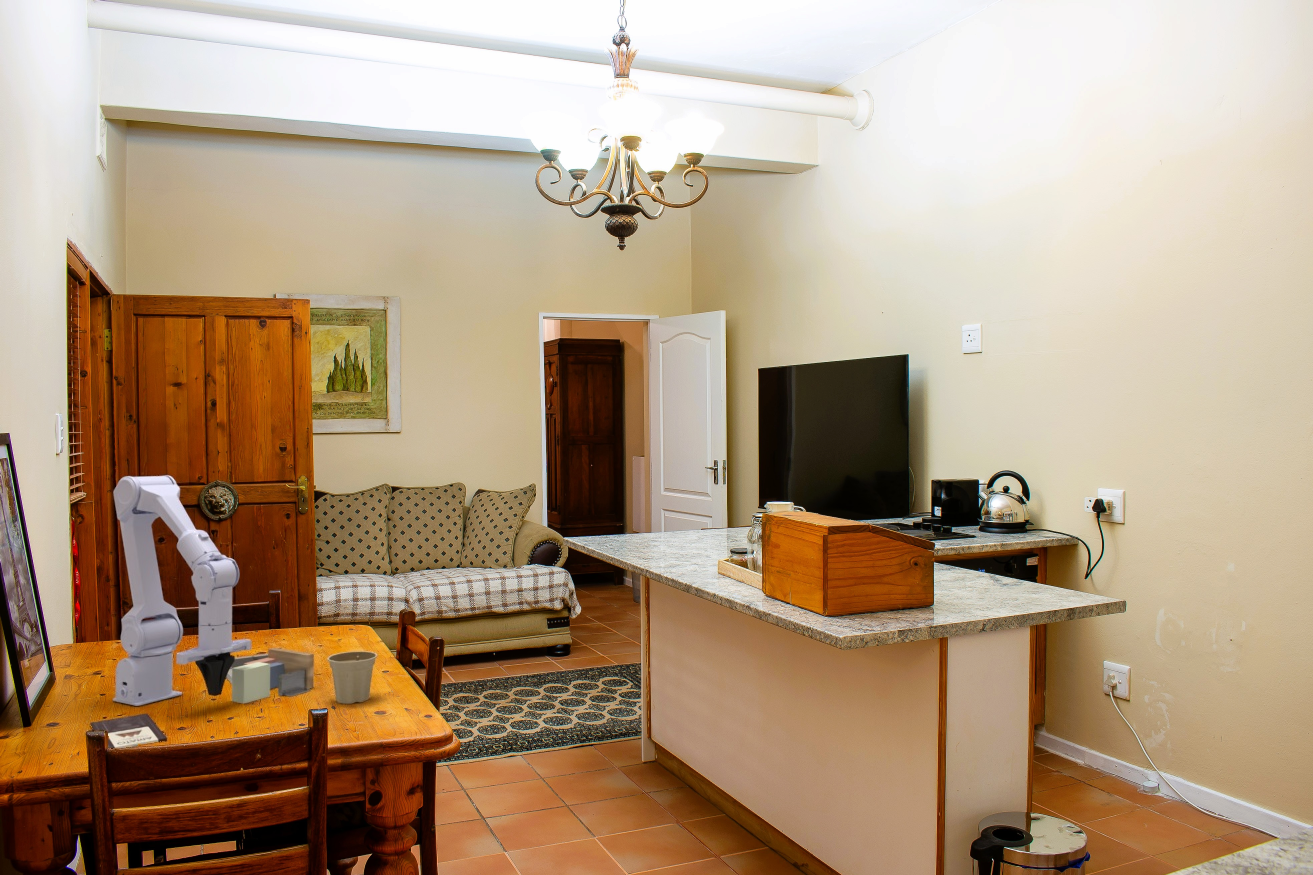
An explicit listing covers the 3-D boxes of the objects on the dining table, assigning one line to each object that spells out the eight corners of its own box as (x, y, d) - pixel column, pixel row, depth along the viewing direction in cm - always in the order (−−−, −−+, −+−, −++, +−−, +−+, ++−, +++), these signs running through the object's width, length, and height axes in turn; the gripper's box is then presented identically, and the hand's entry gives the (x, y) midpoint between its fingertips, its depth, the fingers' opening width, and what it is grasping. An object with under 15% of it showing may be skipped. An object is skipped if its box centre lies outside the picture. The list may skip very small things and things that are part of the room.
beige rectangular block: (243, 703, 177) (244, 670, 177) (231, 701, 178) (232, 668, 178) (269, 696, 182) (270, 663, 182) (258, 694, 184) (258, 661, 184)
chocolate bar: (147, 713, 168) (167, 737, 154) (147, 718, 168) (167, 743, 154) (90, 722, 162) (105, 748, 148) (90, 727, 162) (105, 754, 148)
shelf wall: (307, 689, 187) (307, 655, 187) (267, 681, 193) (268, 648, 193) (313, 687, 189) (313, 653, 189) (273, 680, 194) (274, 647, 194)
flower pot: (323, 707, 174) (323, 662, 174) (330, 694, 183) (331, 651, 183) (374, 705, 176) (374, 660, 176) (379, 692, 185) (379, 650, 185)
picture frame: (311, 678, 199) (288, 660, 216) (311, 665, 199) (288, 648, 216) (233, 689, 190) (215, 669, 207) (233, 675, 190) (215, 656, 207)
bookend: (288, 697, 181) (288, 676, 181) (278, 695, 183) (278, 675, 183) (312, 690, 187) (312, 670, 187) (302, 688, 188) (302, 668, 188)
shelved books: (259, 691, 185) (259, 666, 185) (243, 688, 188) (243, 663, 188) (284, 684, 191) (284, 660, 191) (267, 681, 193) (268, 657, 193)
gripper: (193, 631, 165) (193, 706, 165) (262, 618, 178) (261, 688, 178) (169, 628, 168) (168, 701, 168) (238, 615, 181) (237, 683, 181)
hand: (214, 694), depth 173 cm, fingers closed
